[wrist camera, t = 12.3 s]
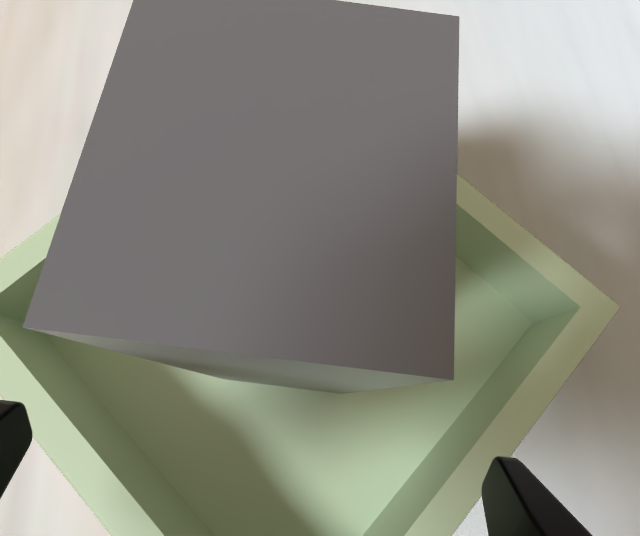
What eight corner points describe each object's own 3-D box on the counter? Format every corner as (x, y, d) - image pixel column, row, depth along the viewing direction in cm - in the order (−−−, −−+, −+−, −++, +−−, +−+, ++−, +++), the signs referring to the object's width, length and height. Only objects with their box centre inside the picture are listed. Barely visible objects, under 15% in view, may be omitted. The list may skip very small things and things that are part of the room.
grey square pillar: (341, 393, 16) (454, 380, 4) (224, 379, 16) (22, 327, 4) (353, 263, 17) (459, 0, 6) (247, 249, 17) (147, -41, 6)
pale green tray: (290, 660, 14) (287, 758, 10) (15, 330, 17) (-68, 310, 13) (552, 326, 18) (620, 306, 14) (293, 105, 21) (292, 39, 17)
